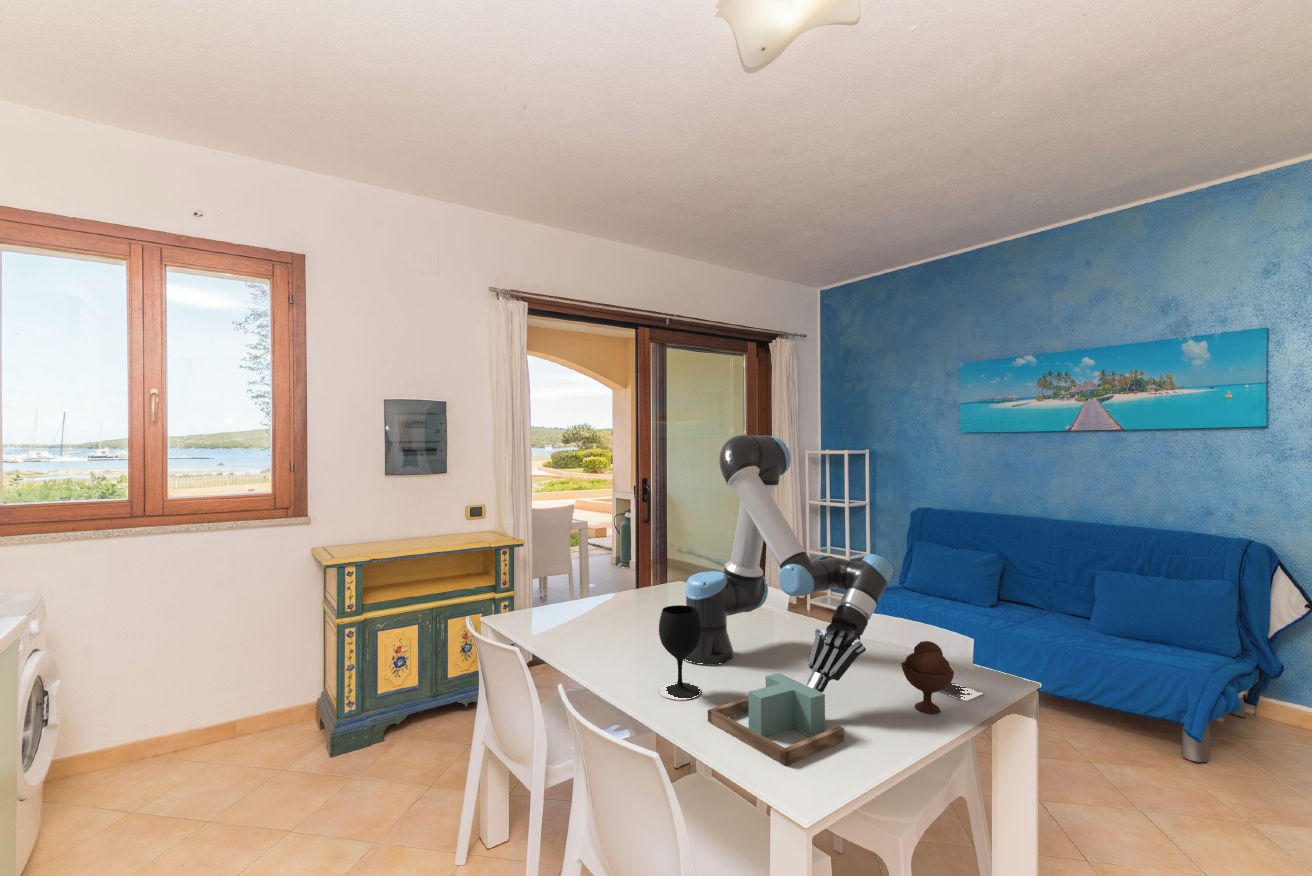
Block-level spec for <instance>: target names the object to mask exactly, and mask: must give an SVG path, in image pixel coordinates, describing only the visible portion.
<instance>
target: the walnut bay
mask: <svg viewBox="0 0 1312 876" xmlns="http://www.w3.org/2000/svg"><path fill="white" fill-rule="evenodd" d="M747 711H748V712H749V696H746V697H744V698H741V699H737V700H735V701H732V702H731V701H730V702H728V703H726V704H722V705H719V706H716V707H712V708H710V709H709V708H708V709H707V722H708V721H709V722H710V723H709V722H708V723H709V724H711V723H712V724H711V725H713V724H714V725H715V726H714V725H713V726H714V727H716V726H717V727H716V728H718V727H719V728H718V729H720V730H721V729H722V731H723V730H724V731H723V732H725V731H726V732H725V733H727V734H728V733H729V735H730V734H731V736H732V737H734V738H735V737H736V738H735V739H737V738H738V739H737V740H739V741H741V742H743V743H744V744H747V745H748V746H749V747H751V748H753V749H754V750H757V751H758V752H760V753H761V754H764V755H766V756H767V757H769V758H770V759H771V760H774V761H776V762H778V763H779V764H781V765H783V766H788V765H790V764H793V763H795V762H798V761H800V760H803V759H805V758H807V757H809V756H812V755H814V754H817V753H819V752H821V751H824V750H825V749H828V748H830V747H833V746H835V745H837V744H840V743H842V742H844V741H845V729H844V727H842V726H841V725H838V726H836V727H833V728H830V729H828V730H825V732H823V733H820V734H818V735H816V736H813V737H808V738H806V739H804V740H801V741H799V742H796V743H794V744H791V745H788V746H786V747H784V746H782V745H781V744H778V743H776V742H774V741H773V740H771V739H770V738H767V736H766V737H764V736H762V735H760V734H758V733H756V732H754V731H753V730H751V729H749V727H748V726H746V725H743V724H742V723H740V722H738V721H735V720H734V719H732V717H731V716H733V717H735V716H734V715H736V716H738V715H737V714H739V715H741V714H740V713H742V712H745V713H748V712H747ZM742 714H743V713H742ZM728 717H730V718H728Z"/></svg>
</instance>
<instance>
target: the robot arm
mask: <svg viewBox="0 0 1312 876" xmlns="http://www.w3.org/2000/svg"><path fill="white" fill-rule="evenodd" d="M791 456H792V455H791V452H790V449H789V448H788V447H787V445H786V443H785V441H784V440H782V439H781V438H779V437H777V436H771V435H747V434H740V435H735V436H733V437H731V438H730V439H728V440H727V441H726V442H725V443H724V444H723V446H722V447H721V450H720V452H719V459H718V460H719V462H718V463H719V467H720V472H721V475H722V477H723V479H724V481H725V483H726V485H727V486H728V488H729V489H733V490H734V491H735V493H736V494H737V496H738V497H739V499H740V502H739V510H738V515H737V520H736V527H735V533H734V540H733V544H732V545H733V546H732V551H731V552H732V553H731V558H730V560H729V561H727V562H726V563H725V564H724V570H723V572H721V571H717V570H709V571H702V572H698V573H694V574H693V575H690V577H688V579H687V580H686V590H685V604H686V605H685V606H691V607H694V608H696V609H697V610H698V613H699V616H700V621H701V637H700V641H699V643H698V645H697V647H696V648H695V650H694V651H693V652H692V653H691V654H689V655H688V656H687V657H685V658H684V659H686V660H688V661H692V662H695V663H703V664H717V665H720V664H719V663H723V664H726V663H728V662H727V661H729V660H731V659H732V660H733V659H734V650H733V649H734V648H733V645H732V642H731V640H730V636H729V633H728V628H727V627H728V626H727V625H728V624H727V622H728V621H727V619H728V618H727V617H729V616H733V615H736V614H737V615H738V614H742V613H749V612H752V611H754V610H757V609H759V608H761V607H762V606H763V605H764V604H765V602H766V600H767V598H768V594H769V585H768V584H767V583H766V582H767V579H766V577H765V575H764V571H763V569H762V568H761V566H760V563H761V556H762V553H763V545H764V542H765V544H766V546H767V548H768V549H769V550H770V551H769V552H771V554H772V556H773V558H774V559H775V561H776V563H777V564H778V566H779V568H780V571H779V573H778V581H779V585H780V588H781V590H782V591H783V592H784V593H785V594H786V595H788V596H791V597H800V596H801V597H803V596H804V597H805V596H808V595H811V594H815V593H819V592H825V591H830V590H834V589H839V590H843V591H845V592H844V594H843V596H842V597H841V599H840V601H839V605H837V607H836V609H835V610H834V612H833V615H832V617H831V622H830V623H829V624H828V625H827V626H826V628H825V629H821V630H820V629H819V628H816V629H815V631H814V642H813V645H812V648H811V652H810V655H809V659H808V661H807V666H808V668H809V669H810V670H811V674H810V675H809V678H808V680H807V682H806V686H808V687H810V688H813V689H815V690H817V691H819V692H821V693H823V692H825V689H826V688H827V686H828V684H829V682H830V681H832V680H835V681H836V682H837V681H839V680H840V679H842V677H843V676H844V675H845V673H846V672H847V671H848V669H850V667H851V665H853V664H854V662H855V661H856V659H857V658H858V657H859V656H860V655H862V654H863V653H865V652H866V651H867V649H866V646H864V644H863V643H862V642H861V636H863V634H864V632H865V630H866V628H867V626H868V624H869V621H870V620H871V618H872V616H873V614H874V612H875V610H876V609H877V608H876V607H877V605H878V603H879V601H880V599H881V597H882V596H883V594H884V592H885V590H886V588H887V586H889V582H890V580H891V577H892V574H893V572H894V569H893V566H892V565H891V563H890V562H889V561H888V560H887V559H885V557H882V556H880V555H877V554H874V553H870V554H866V555H865V556H864V557H863V558H862V559H861V561H857V560H856V561H854V560H853V561H852V560H848V559H844V558H840V557H839V558H838V557H835V556H833V555H824V554H823V555H817V556H815V558H814V559H813V560H811V558H810V556H809V555H808V553H807V551H806V549H804V547H803V545H802V543H801V542H800V540H799V538H798V537H797V536H796V534H795V532H794V531H793V529H792V527H791V525H790V523H789V522H788V521H787V519H786V517H785V516H784V515H783V513H782V511H781V509H780V508H779V506H778V504H777V503H776V501H775V499H774V498H773V496H772V495H773V494H772V492H773V489H775V488H777V487H778V486H779V482H780V479H781V478H780V477H781V476H782V475H785V473H786V472H787V471H788V470H789V469H790V466H791V461H792V460H791V459H792V457H791ZM732 660H731V661H732ZM725 662H726V663H725ZM729 662H730V661H729Z"/></svg>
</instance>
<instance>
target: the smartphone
mask: <svg viewBox="0 0 1312 876" xmlns="http://www.w3.org/2000/svg"><path fill="white" fill-rule="evenodd" d="M952 684H957V683H956V682H953V683H950V684H949V685H948V686H947V687H945V688H944V689H942V690H940V691H939V692H938V693H940V692H941V694H943V693H944V694H943V695H946V694H947V695H946V696H949V695H951V696H954V697H957V698H961V697H963V696H960V695H970V693H967V694H965V693H962V692H960V691H965V690H963V689H961V688H967V687H968V686H965V687H960V686H956V685H952ZM956 688H957V689H956ZM959 688H960V689H959ZM967 691H968V690H967ZM971 695H972V694H971ZM951 696H950V697H951ZM954 697H953V698H954ZM957 698H956V699H957ZM964 698H965V697H964Z"/></svg>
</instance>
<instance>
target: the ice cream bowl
mask: <svg viewBox="0 0 1312 876" xmlns="http://www.w3.org/2000/svg"><path fill="white" fill-rule="evenodd" d="M900 665H901V669H902V672H903V674H904V676H905V678H906V680H907V681H908V682H909V684H910V685H911V686H913V687H914V688H915V689H917V690H919V691H921V692H922V694H923V695H922V696H923V697H922V698H923V699H922V701H919V702H917V703H915V704H914V709H915V710H916V711H918V712H919V713H922V714H927V715H930V716H931V715H939V714H940V713H941V712H942V711H941V709H940V707H939V706H938V705H937V704H936V703H934V702H933V700H932V696H933V694H934V693H939V692H938V691H940V690H942V689H944V688H945V687H947V686H948V685H949V684H950V683H951V682H953V680H954V674H955V670H953V669H952V667H951V666H950V663H949V661H948V660H947V659H946V657H945V656H944V654H943V650H942V648H941V647H940V646H939V645H938V644H936V643H935V642H933V641H928V640H924V641H923V640H922V641H919V642H918V643H917V644H916V645H915V646H914V648H913V652H912V653H910V654H909V655H907V656H906V659H905V660H904V661H902V662H901V663H900Z"/></svg>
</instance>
